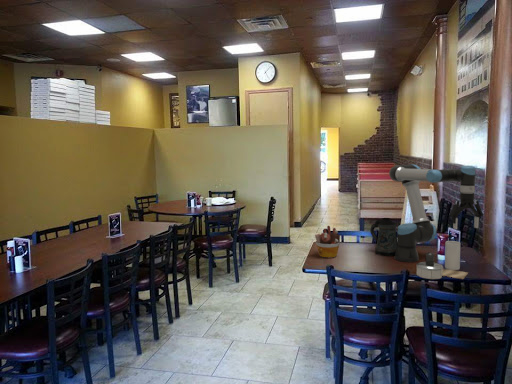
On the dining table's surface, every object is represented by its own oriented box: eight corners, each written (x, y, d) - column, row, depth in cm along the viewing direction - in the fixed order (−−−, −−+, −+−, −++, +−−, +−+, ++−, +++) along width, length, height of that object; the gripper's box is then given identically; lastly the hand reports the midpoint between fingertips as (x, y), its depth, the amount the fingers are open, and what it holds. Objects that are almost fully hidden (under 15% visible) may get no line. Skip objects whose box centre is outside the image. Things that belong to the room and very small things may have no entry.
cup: (455, 266, 251) (455, 240, 249) (462, 269, 243) (463, 243, 241) (442, 266, 251) (442, 241, 249) (448, 270, 243) (449, 244, 241)
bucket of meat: (338, 260, 269) (338, 230, 267) (313, 259, 274) (313, 230, 272) (341, 253, 288) (341, 225, 286) (318, 252, 293) (317, 224, 291)
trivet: (436, 275, 234) (436, 274, 234) (442, 269, 245) (442, 268, 244) (463, 279, 225) (463, 278, 225) (468, 273, 236) (468, 272, 236)
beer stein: (401, 256, 275) (402, 220, 272) (372, 256, 278) (372, 220, 275) (397, 251, 291) (397, 216, 289) (369, 250, 294) (369, 216, 292)
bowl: (414, 276, 232) (414, 267, 232) (421, 270, 242) (421, 262, 242) (438, 280, 224) (438, 271, 224) (444, 274, 234) (444, 266, 234)
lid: (413, 267, 231) (413, 254, 231) (420, 262, 242) (420, 249, 242) (439, 272, 223) (439, 257, 222) (445, 266, 234) (446, 252, 233)
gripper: (451, 194, 231) (450, 230, 234) (491, 192, 235) (489, 228, 237) (443, 192, 239) (442, 228, 241) (482, 191, 242) (480, 226, 245)
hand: (465, 228), depth 239 cm, fingers open, 13 cm apart
